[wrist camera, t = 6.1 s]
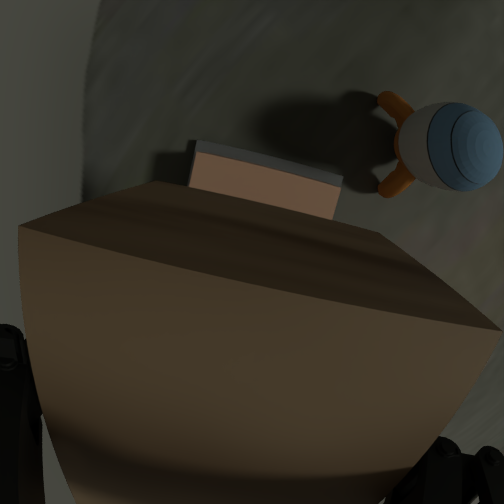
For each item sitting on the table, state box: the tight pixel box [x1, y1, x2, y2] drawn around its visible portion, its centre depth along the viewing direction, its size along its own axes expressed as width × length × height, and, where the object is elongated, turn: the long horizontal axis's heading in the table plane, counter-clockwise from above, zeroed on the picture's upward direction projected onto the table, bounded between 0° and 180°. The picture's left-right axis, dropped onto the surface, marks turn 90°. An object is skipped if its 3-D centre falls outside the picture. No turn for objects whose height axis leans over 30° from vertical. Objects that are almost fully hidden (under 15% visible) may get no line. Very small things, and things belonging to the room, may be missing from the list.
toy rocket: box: [377, 91, 503, 198], centre depth 23 cm, size 10×11×15 cm
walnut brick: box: [18, 180, 503, 504], centre depth 10 cm, size 10×9×8 cm
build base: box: [187, 140, 344, 220], centre depth 29 cm, size 14×14×5 cm
